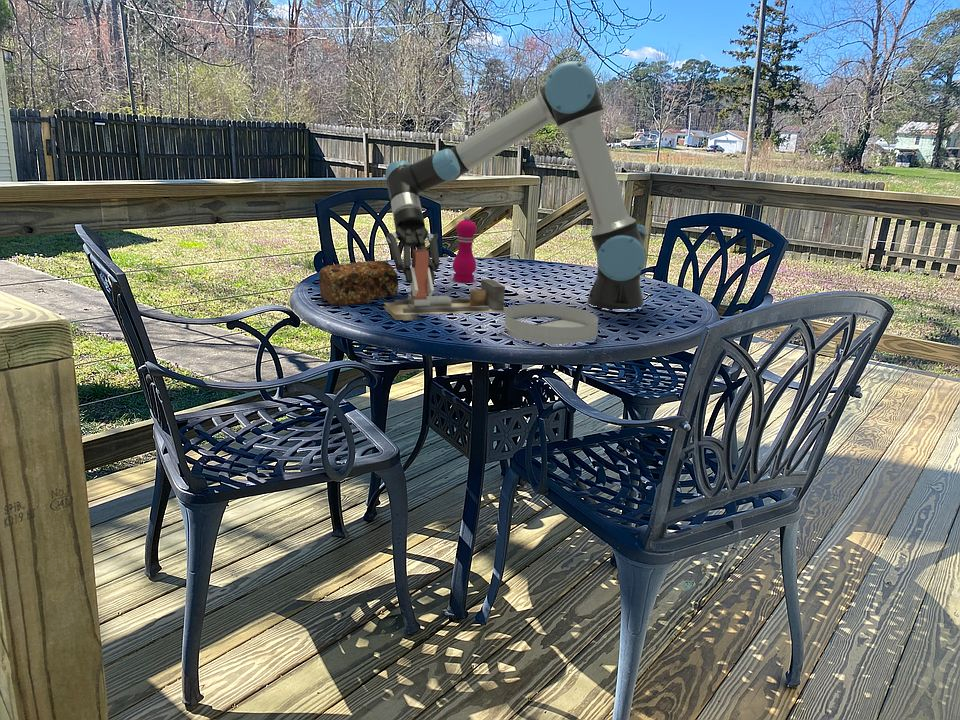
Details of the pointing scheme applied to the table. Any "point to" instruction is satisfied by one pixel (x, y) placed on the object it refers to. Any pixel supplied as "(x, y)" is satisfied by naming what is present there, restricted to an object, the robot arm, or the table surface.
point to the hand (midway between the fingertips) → (423, 292)
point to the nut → (477, 297)
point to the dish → (551, 324)
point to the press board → (453, 304)
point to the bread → (357, 282)
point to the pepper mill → (465, 252)
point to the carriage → (424, 284)
